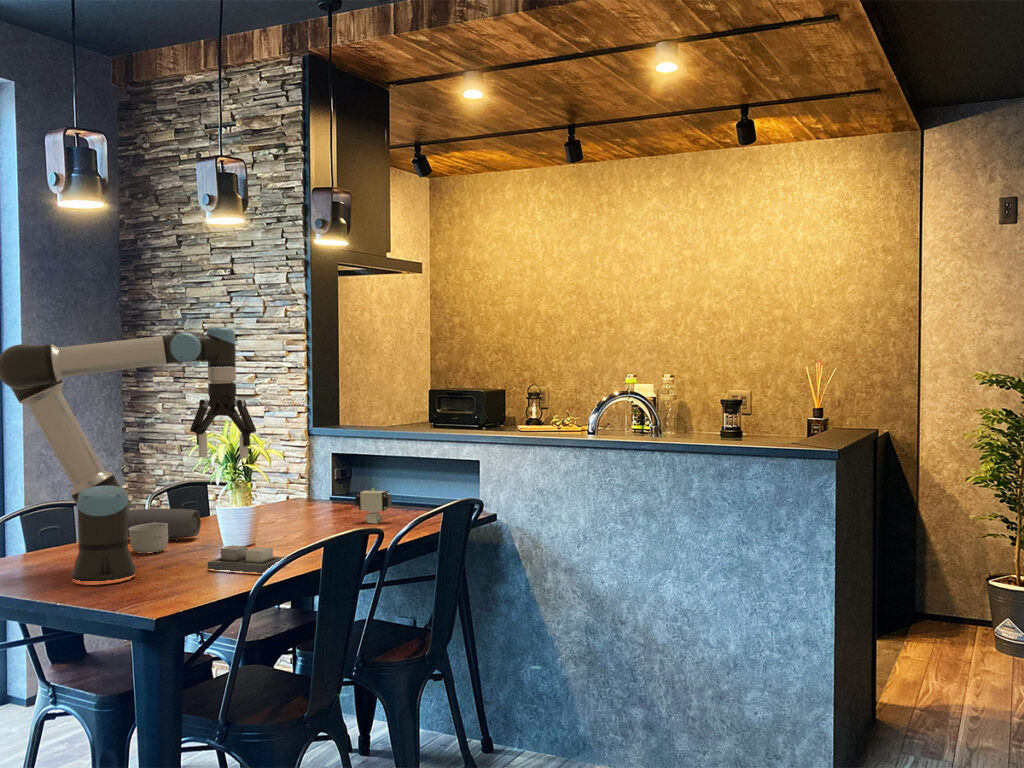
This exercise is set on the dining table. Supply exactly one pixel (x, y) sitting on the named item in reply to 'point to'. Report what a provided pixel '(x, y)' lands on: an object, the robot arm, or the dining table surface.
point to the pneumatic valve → (373, 504)
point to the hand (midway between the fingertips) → (223, 457)
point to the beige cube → (259, 555)
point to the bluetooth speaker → (168, 520)
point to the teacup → (149, 537)
